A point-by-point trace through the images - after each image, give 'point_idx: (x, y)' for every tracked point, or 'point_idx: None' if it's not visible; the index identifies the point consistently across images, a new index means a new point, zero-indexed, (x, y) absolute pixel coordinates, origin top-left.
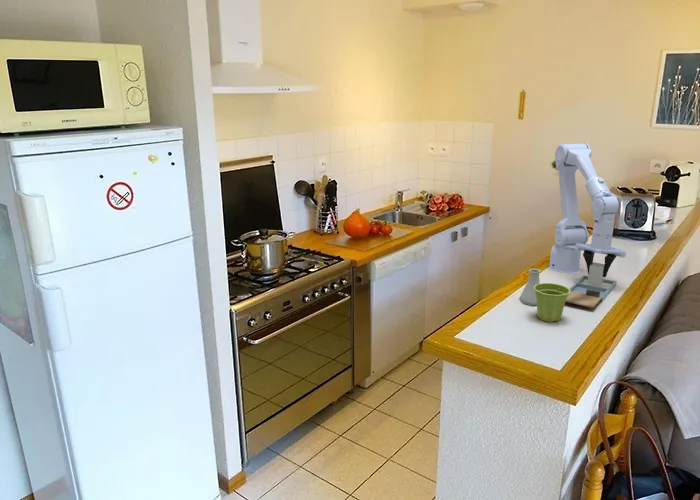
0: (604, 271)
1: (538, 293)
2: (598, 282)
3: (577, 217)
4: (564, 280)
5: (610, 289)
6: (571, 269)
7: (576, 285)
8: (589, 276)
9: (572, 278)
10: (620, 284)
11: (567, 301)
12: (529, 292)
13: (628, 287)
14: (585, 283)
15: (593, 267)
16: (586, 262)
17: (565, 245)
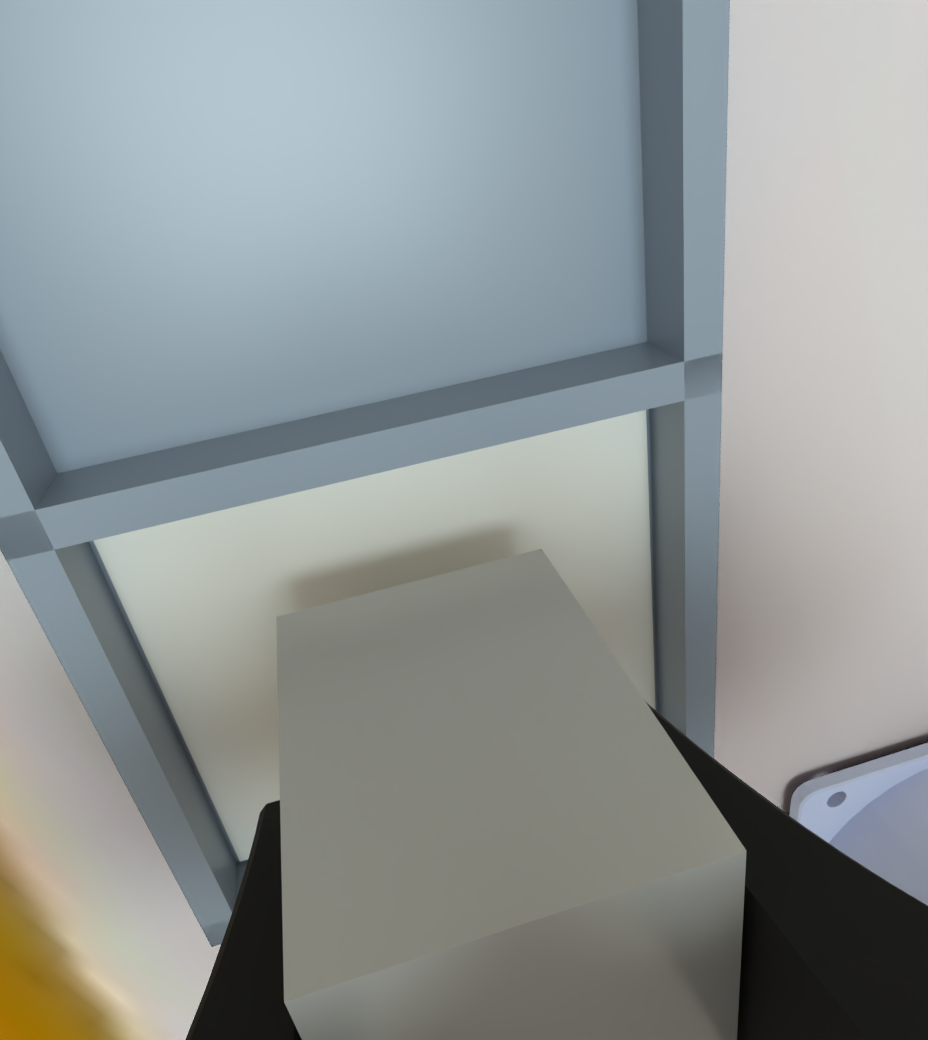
0: (274, 921)
1: None
2: (337, 620)
3: None
4: (885, 515)
5: (31, 578)
6: (901, 835)
7: (665, 292)
8: (564, 621)
9: (804, 671)
10: (211, 953)
11: None
12: None
13: (57, 951)
14: (582, 590)
15: (600, 847)
16: (915, 913)
17: None
